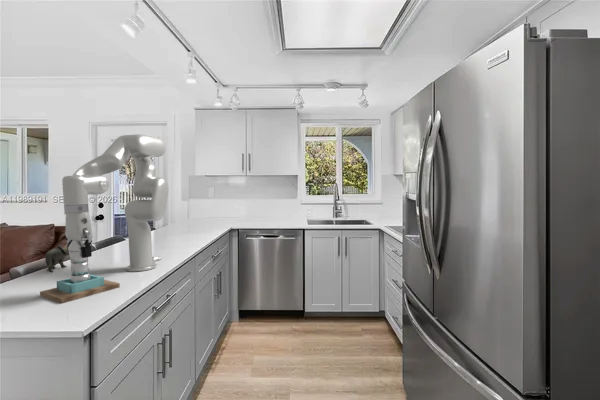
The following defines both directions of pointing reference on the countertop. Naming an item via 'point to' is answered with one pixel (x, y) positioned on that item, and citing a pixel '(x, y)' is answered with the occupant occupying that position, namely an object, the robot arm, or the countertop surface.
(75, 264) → the silver aluminum bottle
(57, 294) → the walnut jig board
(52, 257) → the dinosaur figurine
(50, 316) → the countertop surface
